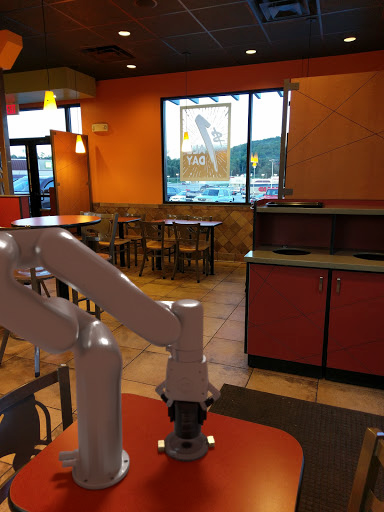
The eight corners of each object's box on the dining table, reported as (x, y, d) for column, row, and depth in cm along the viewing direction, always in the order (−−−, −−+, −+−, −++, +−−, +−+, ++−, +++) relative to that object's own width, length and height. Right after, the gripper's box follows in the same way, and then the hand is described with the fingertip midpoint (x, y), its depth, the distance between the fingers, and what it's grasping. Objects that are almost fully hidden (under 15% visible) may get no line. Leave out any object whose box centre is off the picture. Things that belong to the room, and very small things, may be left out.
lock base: (159, 464, 83) (159, 459, 83) (157, 433, 94) (157, 429, 93) (218, 459, 85) (218, 454, 85) (209, 429, 96) (209, 425, 95)
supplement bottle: (206, 428, 90) (206, 383, 88) (193, 444, 84) (193, 397, 82) (182, 420, 93) (182, 377, 91) (168, 435, 87) (167, 389, 85)
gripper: (147, 356, 83) (148, 426, 86) (222, 361, 80) (221, 434, 83) (155, 343, 90) (156, 408, 93) (225, 347, 88) (223, 414, 90)
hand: (187, 419), depth 88 cm, fingers closed on supplement bottle, 6 cm apart
